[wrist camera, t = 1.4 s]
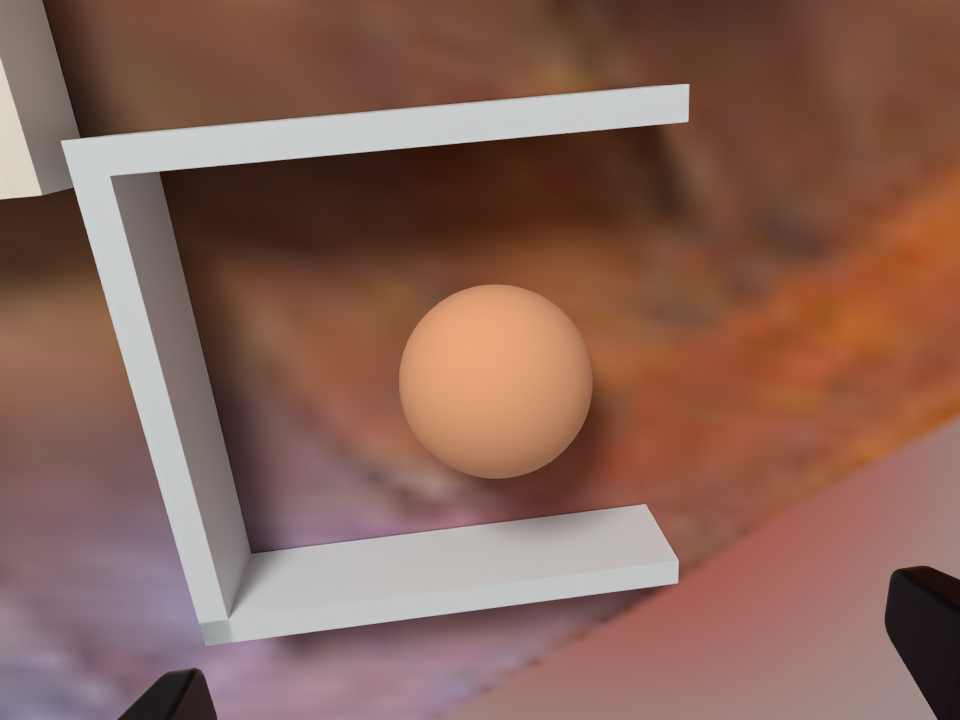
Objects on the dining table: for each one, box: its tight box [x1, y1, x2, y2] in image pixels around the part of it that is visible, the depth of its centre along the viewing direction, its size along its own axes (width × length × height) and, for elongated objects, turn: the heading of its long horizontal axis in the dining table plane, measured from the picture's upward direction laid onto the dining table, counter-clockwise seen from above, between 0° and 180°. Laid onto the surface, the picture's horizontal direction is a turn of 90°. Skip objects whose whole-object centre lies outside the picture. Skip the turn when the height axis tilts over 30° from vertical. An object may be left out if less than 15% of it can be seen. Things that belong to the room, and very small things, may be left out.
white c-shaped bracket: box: [61, 84, 689, 646], centre depth 19 cm, size 14×14×3 cm
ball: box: [399, 284, 593, 479], centre depth 18 cm, size 5×5×5 cm
